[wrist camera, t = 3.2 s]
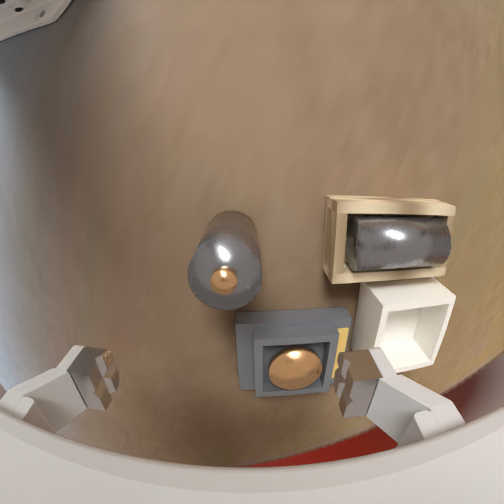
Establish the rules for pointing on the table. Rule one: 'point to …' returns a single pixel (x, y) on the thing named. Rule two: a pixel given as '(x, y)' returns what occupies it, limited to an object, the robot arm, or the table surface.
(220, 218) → the cylinder
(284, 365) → the copper disc
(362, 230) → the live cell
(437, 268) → the trough
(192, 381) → the table surface
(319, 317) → the cradle
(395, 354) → the white square box
